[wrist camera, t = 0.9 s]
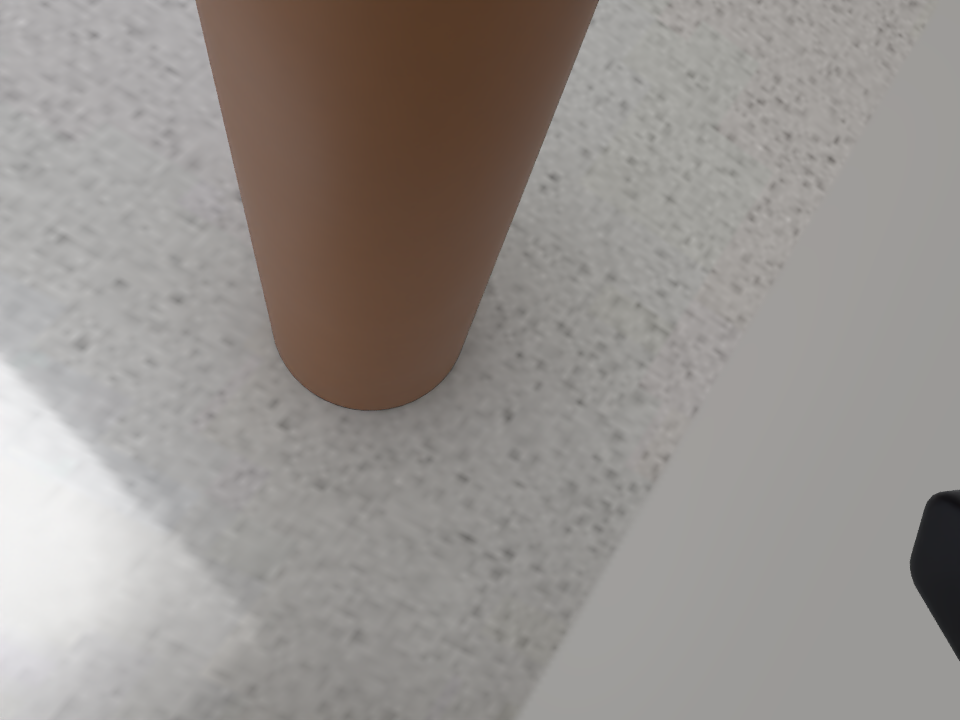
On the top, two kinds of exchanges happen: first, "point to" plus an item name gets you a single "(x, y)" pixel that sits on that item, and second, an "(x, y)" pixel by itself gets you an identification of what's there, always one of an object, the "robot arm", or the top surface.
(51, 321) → the top surface
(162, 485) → the top surface
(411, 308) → the orange cylinder
